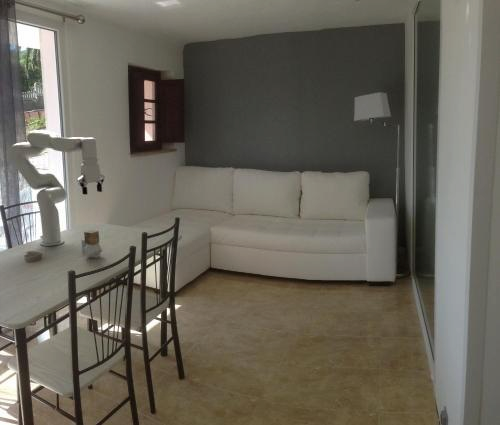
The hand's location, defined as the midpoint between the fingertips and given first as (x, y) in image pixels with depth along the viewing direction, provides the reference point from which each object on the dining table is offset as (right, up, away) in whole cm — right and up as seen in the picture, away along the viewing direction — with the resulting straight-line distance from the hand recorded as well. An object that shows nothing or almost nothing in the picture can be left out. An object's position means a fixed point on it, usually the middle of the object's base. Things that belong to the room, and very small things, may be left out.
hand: (92, 192), depth 259 cm
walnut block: (+4, -26, -14) cm, 30 cm away
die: (+5, -34, -12) cm, 36 cm away
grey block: (-2, -31, +1) cm, 31 cm away
